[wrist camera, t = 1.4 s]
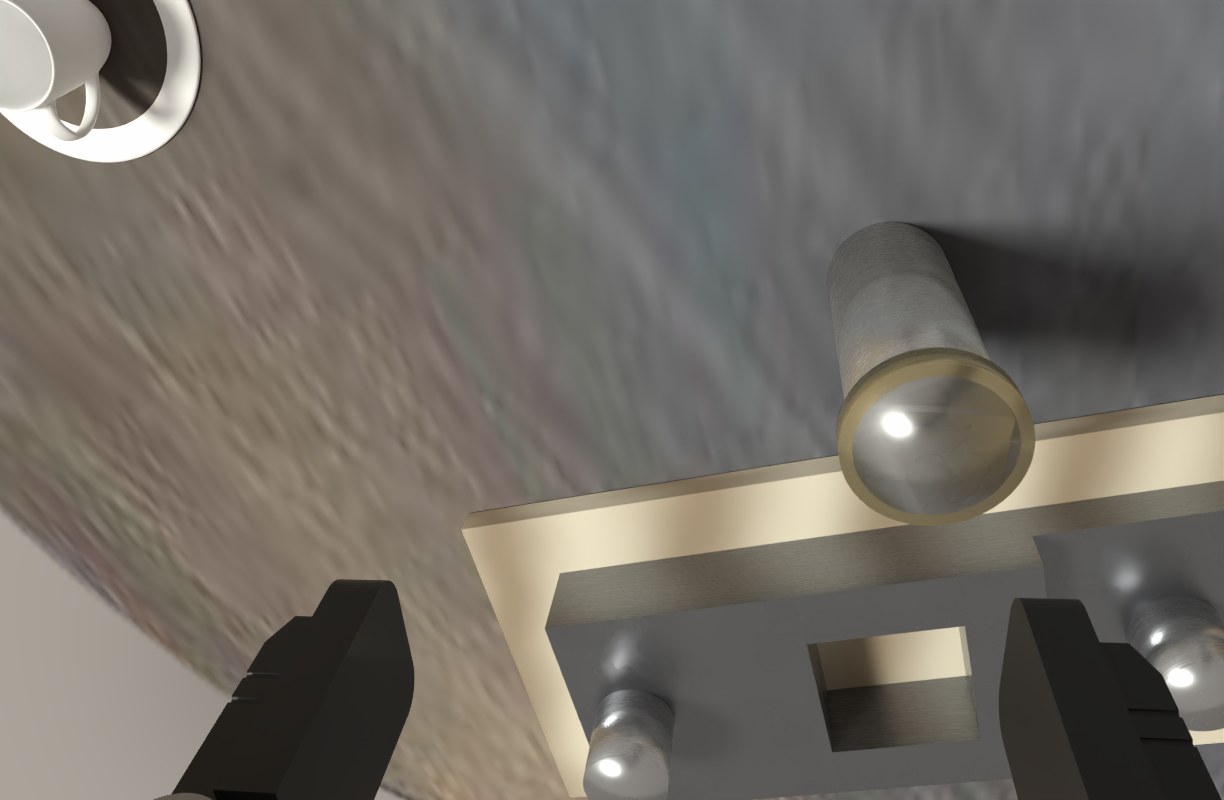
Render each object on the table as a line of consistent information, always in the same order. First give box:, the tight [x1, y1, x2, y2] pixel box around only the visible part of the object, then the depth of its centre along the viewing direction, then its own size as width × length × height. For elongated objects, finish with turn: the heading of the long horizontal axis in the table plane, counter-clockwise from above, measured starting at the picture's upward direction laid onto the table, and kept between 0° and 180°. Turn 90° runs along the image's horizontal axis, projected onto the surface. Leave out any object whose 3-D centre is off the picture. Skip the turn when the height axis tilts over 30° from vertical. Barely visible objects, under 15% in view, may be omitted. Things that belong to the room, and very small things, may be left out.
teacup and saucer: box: [0, 0, 201, 162], centre depth 29 cm, size 9×8×4 cm
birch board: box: [462, 395, 1224, 798], centre depth 37 cm, size 28×14×1 cm, turn 105°
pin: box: [827, 222, 1035, 526], centre depth 27 cm, size 4×4×10 cm
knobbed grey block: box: [545, 481, 1224, 800], centre depth 34 cm, size 22×9×6 cm, turn 105°
